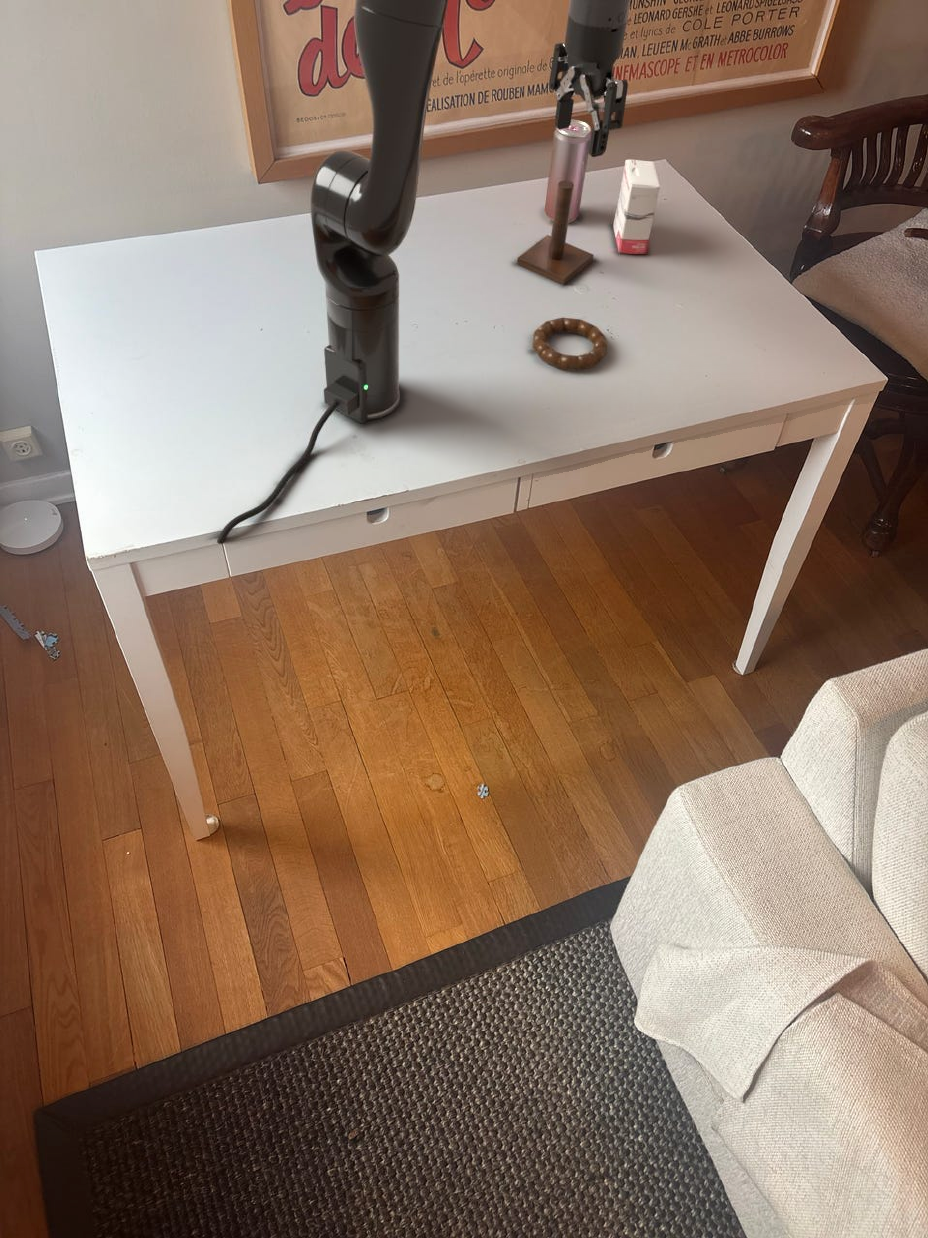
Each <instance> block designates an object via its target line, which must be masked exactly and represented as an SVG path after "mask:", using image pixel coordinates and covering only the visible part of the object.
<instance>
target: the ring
mask: <svg viewBox="0 0 928 1238" xmlns="http://www.w3.org/2000/svg"><path fill="white" fill-rule="evenodd" d="M562 332H566V333H573V334H578V335H581V336H583V337H585V338H587V339H588V340H589V341H590V342H591V344H592V345H593V348H592V349H591V350H590V351H589V352H587V353H583V354H579V355H573V354H565V353H561V352H559V351H557V350H555V349H553V348H552V347H551V346H550V345H549V344H548V343H547V340H548V338H549V337H550V336H551V335H554V334H558V333H562ZM532 336H533V337H532V348H533V350H534V352H535V353H536V354H537V356H538V357H539V358H540V359H541V361H543V362H545V363H547V364H549V365H551V366H553V367H555V368H557V369H561V370H571V371H580V370H585V369H589V368H592V367H595V366H597V365H598V364H599V363H600V362H601V361H602V360H603V359H604V358H605V357H606V356H607V354H608V338H607V337H606V335H605V334H604V333H603V332H602V331H601V329H599V327H598V326H596V325H594V324H591V323H590V322H588V321H585V320H583V319H582V318H581V319H580V318H572V317H559V318H553V319H550V320H547V321H545V322H543V323H542V324H541V325H540V326H539V327H537V328H536V329H535V330H534V331H533V335H532Z"/></svg>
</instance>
